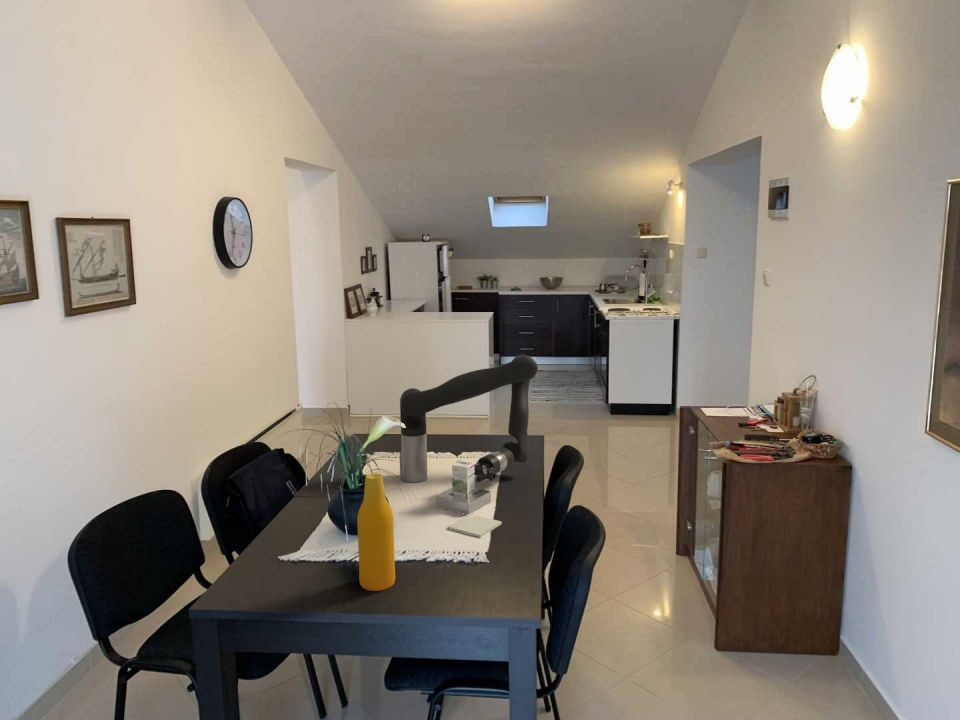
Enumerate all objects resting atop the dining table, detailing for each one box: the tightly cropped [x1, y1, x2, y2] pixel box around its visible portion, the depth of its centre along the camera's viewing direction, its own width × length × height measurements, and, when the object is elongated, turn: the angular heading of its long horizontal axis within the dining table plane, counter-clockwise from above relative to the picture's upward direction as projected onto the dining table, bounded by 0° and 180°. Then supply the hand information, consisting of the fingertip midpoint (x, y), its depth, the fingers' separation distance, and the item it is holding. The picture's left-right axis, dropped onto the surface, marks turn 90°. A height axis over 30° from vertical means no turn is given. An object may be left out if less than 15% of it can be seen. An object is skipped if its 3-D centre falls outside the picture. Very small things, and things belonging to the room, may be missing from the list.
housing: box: [435, 486, 492, 515], centre depth 243 cm, size 13×13×4 cm
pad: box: [447, 513, 503, 538], centre depth 225 cm, size 12×12×1 cm
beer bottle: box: [356, 472, 396, 592], centre depth 187 cm, size 9×9×29 cm
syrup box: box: [451, 460, 475, 499], centre depth 242 cm, size 6×6×14 cm
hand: (466, 477), depth 243 cm, fingers open, 8 cm apart
